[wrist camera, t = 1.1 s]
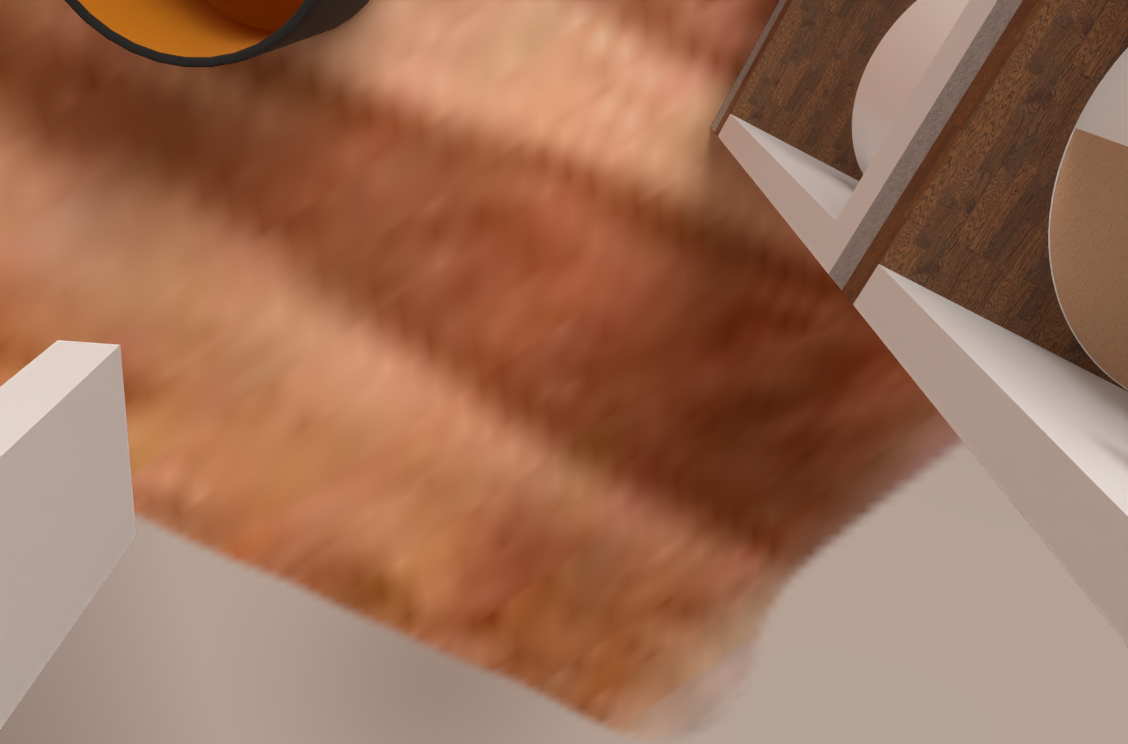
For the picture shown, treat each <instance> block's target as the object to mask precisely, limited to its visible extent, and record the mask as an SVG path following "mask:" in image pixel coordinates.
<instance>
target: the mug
mask: <svg viewBox="0 0 1128 744" xmlns="http://www.w3.org/2000/svg"><path fill="white" fill-rule="evenodd" d="M65 1H66V2H67V3H68V4H69V5H70V6H71V8H72V9H73V10H74V11H75V12H76V13H77V14H78V15H79V16H80V17H81V18H82V19H83V20H84V21H85V22H86V23H88V24H89V25H90V26H92V27H93V28H94V29H95V30H97V31H98V32H99V33H101V34H102V35H103V36H104V37H106V38H107V39H109V40H111V41H112V42H114V43H116V44H118V45H119V46H121V47H123V48H125V49H127V50H128V51H130V52H132V53H135V54H138V55H140V56H143V57H146V58H148V59H151V60H154V61H157V62H161V63H166V64H172V65H177V66H183V67H214V66H220V65H225V64H231V63H237V62H240V61H243V60H246V59H249V58H252V57H255V56H258V55H261V54H264V53H266V52H269V51H272V50H275V49H278V48H281V47H283V46H286V45H289V44H292V43H295V42H297V41H300V40H303V39H306V38H309V37H312V36H314V35H317V34H320V33H322V32H325V31H327V30H330V29H333V28H335V27H337V26H338V25H340V24H342V23H343V22H345V21H346V20H348V19H350V18H351V17H353V16H354V15H355V14H356V13H357V12H358V11H359V10H360V9H361V8H362V7H363V6H364V5H366V4H367V2H368V1H369V0H65Z"/></svg>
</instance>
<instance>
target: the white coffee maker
mask: <svg viewBox="0 0 1128 744" xmlns="http://www.w3.org/2000/svg"><path fill="white" fill-rule="evenodd" d="M711 129H712V130H713V131H714V132H715V134H716V135H717V136H718V137H719V139H720V140H721V141H722V142H723V144H724V145H725V146H726V147H727V149H728V150H729V151H730V152H731V154H732V155H733V156H734V157H735V158H736V160H737V161H738V162H739V163H740V165H741V166H742V167H743V168H744V170H745V171H746V172H747V173H748V175H749V176H750V177H751V178H752V180H753V181H754V182H755V183H756V185H757V186H758V187H759V188H760V190H761V191H762V192H763V193H764V195H765V196H766V197H767V198H768V200H769V201H770V202H771V203H772V205H773V206H774V207H775V208H776V210H777V211H778V212H779V213H780V215H781V216H782V217H783V218H784V219H785V221H786V222H787V223H788V224H789V226H790V227H791V228H792V229H793V231H794V232H795V233H796V234H797V236H798V237H799V238H800V239H801V241H802V242H803V243H804V244H805V246H806V247H807V248H808V249H809V251H810V252H811V253H812V254H813V256H814V257H815V258H816V259H817V261H818V262H819V263H820V264H821V266H822V267H823V268H824V269H825V271H826V272H827V273H828V274H829V275H830V277H831V278H832V279H833V280H834V282H835V283H836V284H837V285H838V287H839V288H840V289H841V290H842V292H843V293H844V294H845V295H846V297H847V298H848V299H849V300H850V302H851V303H852V304H853V305H854V307H855V308H856V309H857V310H858V312H859V313H860V314H861V315H862V317H863V318H864V319H865V320H866V322H867V323H868V324H869V325H870V327H871V328H872V329H873V330H874V332H875V333H876V334H877V335H878V336H879V338H880V339H881V340H882V341H883V343H884V344H885V345H886V346H887V348H888V349H889V350H890V351H891V353H892V354H893V355H894V356H895V358H896V359H897V360H898V361H899V363H900V364H901V365H902V366H903V368H904V369H905V370H906V371H907V373H908V374H909V375H910V376H911V378H912V379H913V380H914V381H915V383H916V384H917V385H918V386H919V388H920V389H921V390H922V391H923V392H924V394H925V395H926V396H927V397H928V399H929V400H930V401H931V402H932V404H933V405H934V406H935V407H936V409H937V410H938V411H939V412H940V414H941V415H942V416H943V417H944V419H945V420H946V421H947V422H948V424H949V425H950V426H951V427H952V429H953V430H954V431H955V432H956V434H957V435H958V436H959V437H960V439H961V440H962V441H963V442H964V444H965V445H966V446H967V447H968V449H969V450H970V451H971V452H972V453H973V455H974V456H975V457H976V458H977V460H978V461H979V462H980V463H981V465H982V466H983V467H984V468H985V470H986V471H987V472H988V473H989V475H990V476H991V477H992V478H993V480H994V481H995V482H996V483H997V485H998V486H999V487H1000V488H1001V490H1002V491H1003V492H1004V493H1005V495H1006V496H1007V497H1008V498H1009V499H1010V501H1011V502H1012V503H1013V505H1014V506H1015V507H1016V508H1017V509H1018V511H1019V512H1020V513H1021V514H1022V516H1023V517H1024V518H1025V519H1026V521H1027V522H1028V523H1029V524H1030V526H1031V527H1032V528H1033V529H1034V531H1035V532H1036V533H1037V534H1038V536H1039V537H1040V538H1041V539H1042V540H1043V542H1044V543H1045V544H1046V546H1047V547H1048V548H1049V549H1050V550H1051V552H1052V553H1053V554H1054V556H1055V557H1056V558H1057V559H1058V560H1059V562H1060V563H1061V564H1062V566H1063V567H1064V568H1065V569H1066V570H1067V572H1068V573H1069V574H1070V575H1071V577H1072V578H1073V579H1074V580H1075V582H1076V583H1077V584H1078V585H1079V587H1080V588H1081V589H1082V590H1083V592H1084V593H1085V594H1086V595H1087V597H1088V598H1089V599H1090V600H1091V602H1092V603H1093V604H1094V605H1095V607H1096V608H1097V609H1098V610H1099V611H1100V613H1101V614H1102V615H1103V616H1104V618H1105V619H1106V620H1107V621H1108V623H1109V624H1110V625H1111V626H1112V628H1113V629H1114V630H1115V631H1116V632H1117V634H1118V635H1119V636H1120V638H1121V639H1122V640H1123V641H1124V643H1125V644H1126V645H1127V646H1128V0H779V2H778V4H777V6H776V8H775V9H774V11H773V13H772V15H771V17H770V19H769V21H768V22H767V24H766V26H765V28H764V30H763V32H762V33H761V35H760V37H759V39H758V41H757V43H756V44H755V46H754V48H753V50H752V52H751V54H750V55H749V57H748V59H747V61H746V63H745V65H744V66H743V68H742V70H741V72H740V74H739V76H738V77H737V79H736V81H735V83H734V85H733V87H732V89H731V90H730V92H729V94H728V96H727V98H726V100H725V101H724V103H723V105H722V107H721V109H720V111H719V112H718V114H717V116H716V118H715V120H714V122H713V123H712V125H711Z"/></svg>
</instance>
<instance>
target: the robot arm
mask: <svg viewBox="0 0 1128 744" xmlns="http://www.w3.org/2000/svg"><path fill="white" fill-rule="evenodd" d="M135 537H136V526H135V514H134V502H133V490H132V479H131V467H130V455H129V443H128V431H127V419H126V407H125V396H124V384H123V372H122V360H121V348H120V345H117V344H103V343H90V342H76V341H62V340H57V341H56V342H55V343H54V344H53V345H51V346H50V347H49V348H48V349H46V350H45V351H44V352H43V353H41V354H40V355H39V356H38V357H37V358H35V359H34V360H33V361H32V362H30V363H29V364H28V365H27V366H25V367H24V368H23V369H22V370H21V371H19V372H18V373H17V374H16V375H14V376H13V377H12V378H11V379H9V380H8V381H7V382H6V383H4V384H3V385H2V386H1V387H0V729H1V728H2V726H3V725H4V724H5V722H6V721H7V719H8V718H9V716H10V715H11V714H12V712H13V711H14V710H15V708H16V707H17V705H18V704H19V702H20V701H21V700H22V698H23V697H24V695H25V694H26V692H27V691H28V690H29V688H30V687H31V685H32V684H33V682H34V681H35V680H36V678H37V677H38V675H39V674H40V673H41V671H42V670H43V668H44V667H45V665H46V664H47V663H48V661H49V660H50V658H51V657H52V655H53V654H54V653H55V651H56V650H57V648H58V647H59V645H60V644H61V643H62V641H63V640H64V638H65V637H66V636H67V634H68V633H69V631H70V630H71V628H72V627H73V626H74V624H75V623H76V621H77V620H78V618H79V617H80V615H81V614H82V613H83V611H84V610H85V608H86V607H87V606H88V604H89V603H90V601H91V600H92V599H93V597H94V596H95V594H96V593H97V591H98V590H99V588H100V587H101V586H102V584H103V583H104V581H105V580H106V578H107V577H108V576H109V574H110V573H111V571H112V570H113V569H114V567H115V566H116V564H117V563H118V561H119V560H120V559H121V557H122V556H123V554H124V553H125V551H126V550H127V549H128V547H129V546H130V544H131V543H132V542H133V540H134V539H135Z"/></svg>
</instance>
